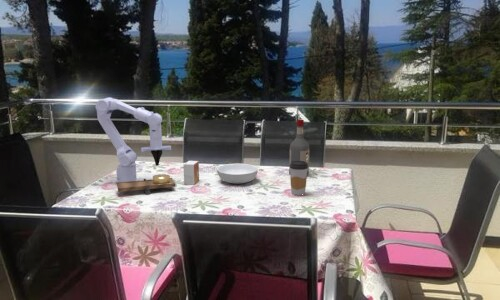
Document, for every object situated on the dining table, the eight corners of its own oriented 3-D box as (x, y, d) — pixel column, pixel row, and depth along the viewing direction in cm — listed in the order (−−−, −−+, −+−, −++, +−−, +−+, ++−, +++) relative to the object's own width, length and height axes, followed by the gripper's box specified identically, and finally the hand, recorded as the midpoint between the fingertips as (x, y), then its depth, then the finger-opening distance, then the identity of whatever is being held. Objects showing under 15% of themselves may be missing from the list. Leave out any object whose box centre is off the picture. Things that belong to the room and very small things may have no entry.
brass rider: (153, 185, 201) (153, 178, 201) (152, 180, 209) (152, 174, 208) (170, 184, 204) (170, 177, 203) (169, 179, 211) (168, 173, 211)
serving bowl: (210, 184, 215) (209, 171, 214) (227, 174, 234) (227, 161, 233) (248, 189, 208) (248, 175, 206) (263, 178, 227) (263, 165, 225)
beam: (118, 191, 195) (118, 188, 195) (117, 185, 205) (116, 182, 204) (175, 186, 204) (175, 183, 204) (171, 180, 213) (171, 177, 213)
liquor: (287, 175, 230) (288, 120, 224) (295, 172, 238) (296, 118, 232) (303, 178, 226) (304, 121, 219) (310, 174, 233) (311, 119, 227)
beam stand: (145, 194, 199) (145, 185, 198) (142, 187, 210) (142, 178, 209) (150, 194, 200) (149, 185, 199) (147, 187, 211) (146, 178, 210)
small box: (194, 185, 214) (193, 164, 212) (183, 184, 215) (183, 164, 213) (199, 180, 222) (199, 160, 220) (189, 180, 223) (188, 160, 221)
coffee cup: (308, 192, 203) (309, 161, 200) (305, 197, 195) (305, 165, 192) (291, 190, 206) (292, 159, 202) (287, 195, 198) (287, 163, 195)
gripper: (141, 140, 207) (143, 168, 209) (171, 138, 211) (173, 165, 214) (140, 138, 213) (141, 164, 216) (169, 136, 218) (170, 162, 221)
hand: (157, 165), depth 216 cm, fingers closed
